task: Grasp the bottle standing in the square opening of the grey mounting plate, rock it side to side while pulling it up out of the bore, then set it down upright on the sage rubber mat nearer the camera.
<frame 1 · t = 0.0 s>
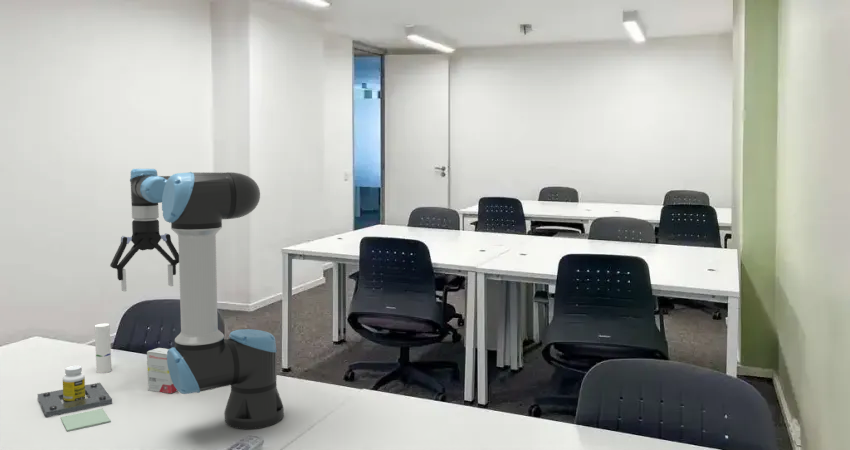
hand: (147, 288, 197), 28 cm above the table, fingers open, 13 cm apart
tube: (104, 371, 205), on the table
supplement bottle: (74, 402, 179), resting in grey mounting plate
mat: (85, 420, 167), on the table
grey mounting plate: (74, 401, 179), on the table
ink box: (165, 390, 189), on the table
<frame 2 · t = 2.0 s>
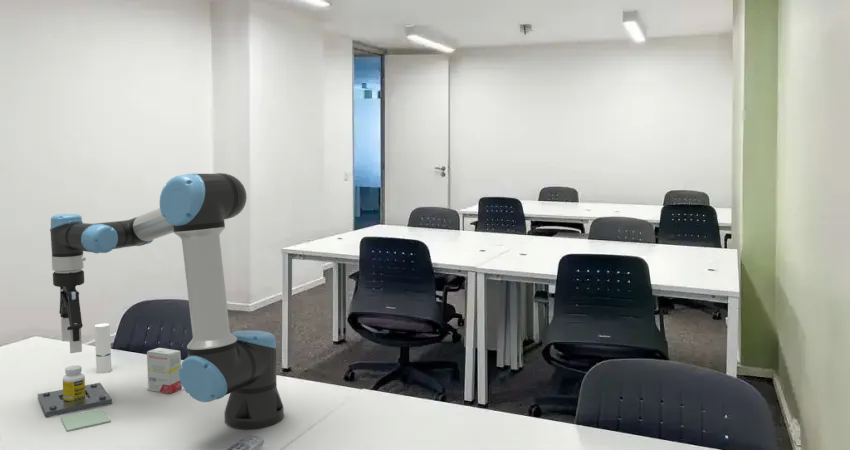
hand: (71, 346, 178), 16 cm above the table, fingers open, 13 cm apart
nothing on the table moved.
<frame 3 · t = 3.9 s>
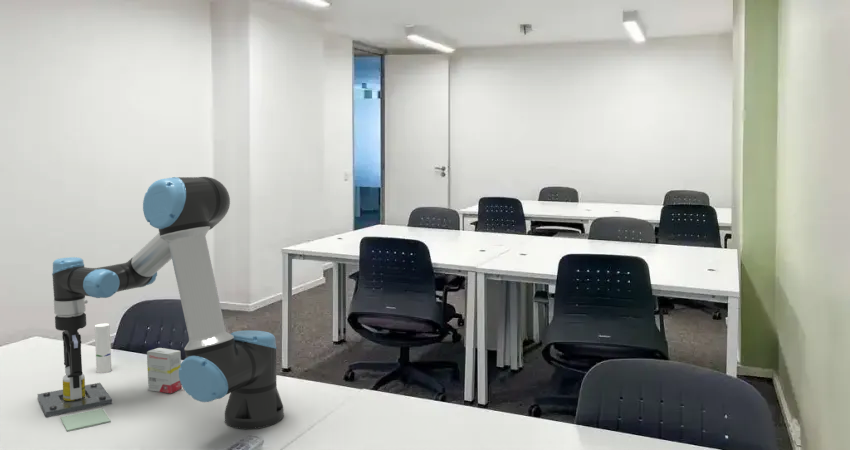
hand: (74, 395, 179), 2 cm above the table, fingers closed on supplement bottle, 5 cm apart
supplement bottle: (74, 402, 179), resting in grey mounting plate, touching gripper
everything else where it was.
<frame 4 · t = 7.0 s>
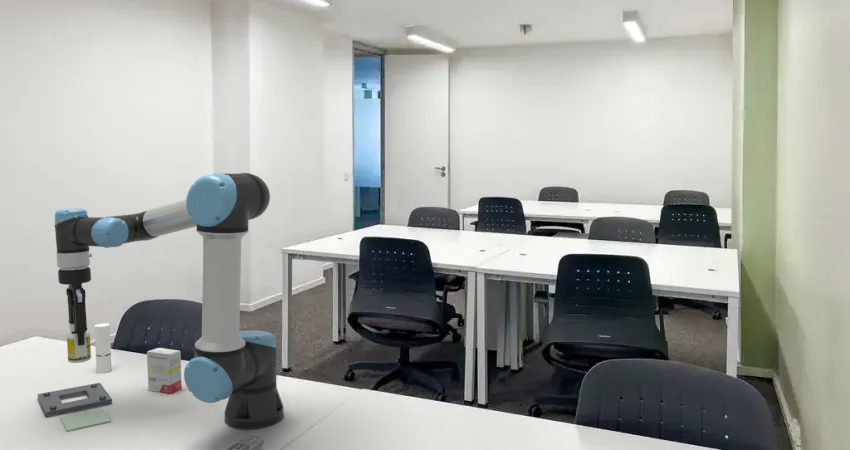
hand: (79, 353, 171), 16 cm above the table, fingers closed on supplement bottle, 5 cm apart
supplement bottle: (79, 361, 171), point 14 cm above the table, touching gripper
everything else where it was.
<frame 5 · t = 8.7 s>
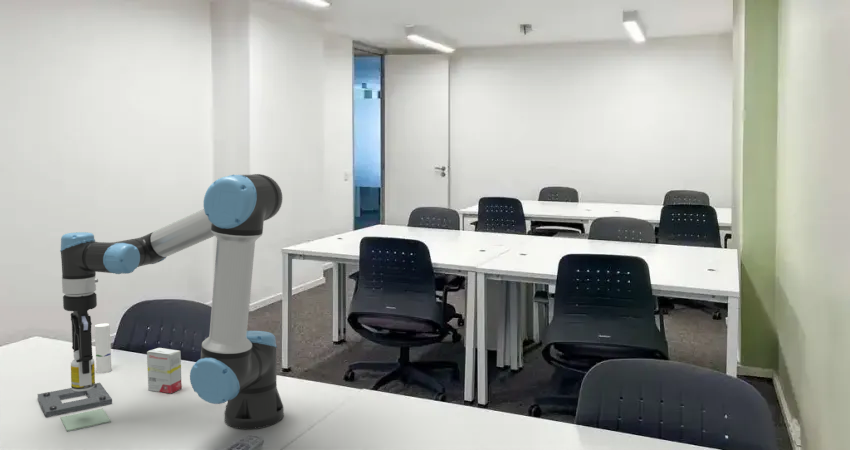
hand: (83, 381, 166), 10 cm above the table, fingers closed on supplement bottle, 5 cm apart
supplement bottle: (83, 389, 166), point 8 cm above the table, touching gripper
everything else where it was.
when the fingers open (3 cm above the table, at t = 10.2 s): supplement bottle drops 1 cm, resting on mat.
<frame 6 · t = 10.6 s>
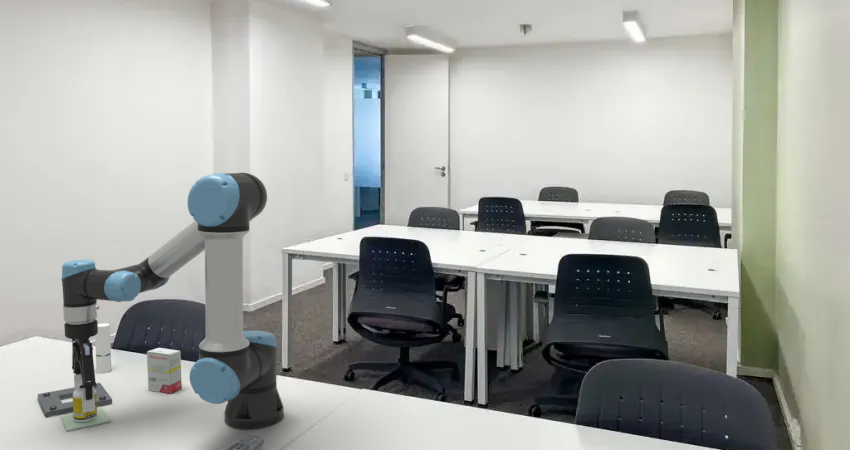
hand: (84, 404, 166), 4 cm above the table, fingers open, 10 cm apart
supplement bottle: (85, 419, 167), resting on mat
everything else where it was.
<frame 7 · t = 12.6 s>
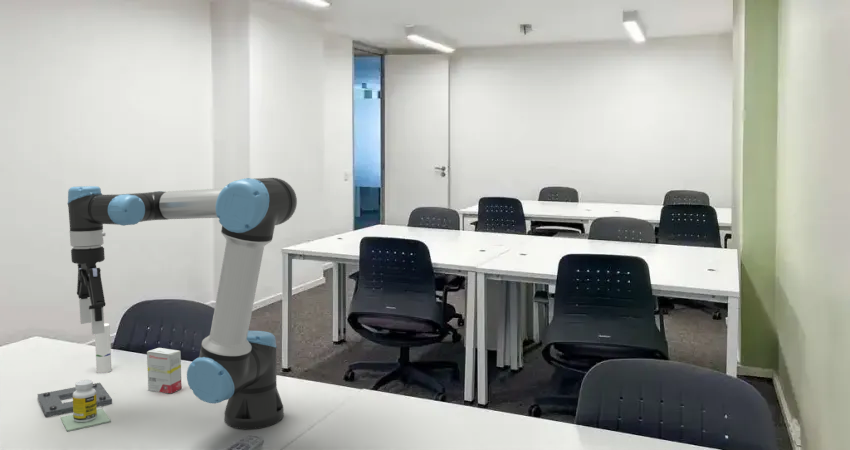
hand: (92, 328, 166), 24 cm above the table, fingers open, 13 cm apart
nothing on the table moved.
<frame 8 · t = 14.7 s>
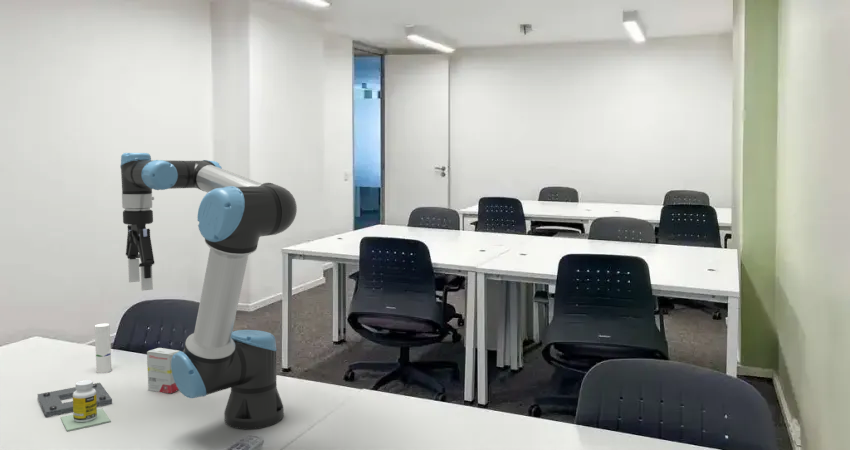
hand: (140, 285, 178), 33 cm above the table, fingers open, 13 cm apart
nothing on the table moved.
at the end: supplement bottle inside the target area on the mat (0.0 cm from its centre), point 0.2 cm above the mat's base; supplement bottle tilted 0°; supplement bottle touching mat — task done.
